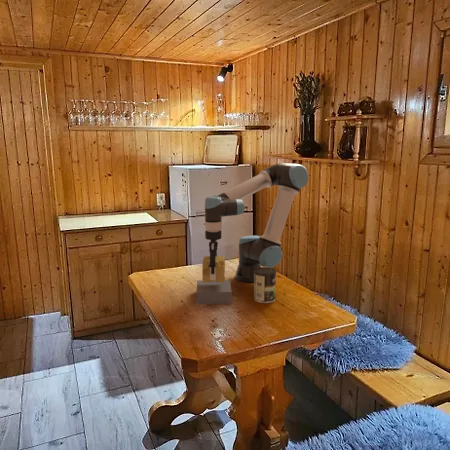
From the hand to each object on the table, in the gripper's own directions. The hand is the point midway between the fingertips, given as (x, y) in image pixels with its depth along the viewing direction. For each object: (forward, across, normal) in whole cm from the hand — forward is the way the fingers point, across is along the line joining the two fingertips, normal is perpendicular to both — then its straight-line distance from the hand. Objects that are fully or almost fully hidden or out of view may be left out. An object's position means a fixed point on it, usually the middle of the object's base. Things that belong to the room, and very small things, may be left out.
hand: (213, 276), depth 191 cm
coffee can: (+11, +2, +24) cm, 26 cm away
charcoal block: (+11, 0, 0) cm, 11 cm away
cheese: (+2, 0, 0) cm, 2 cm away
